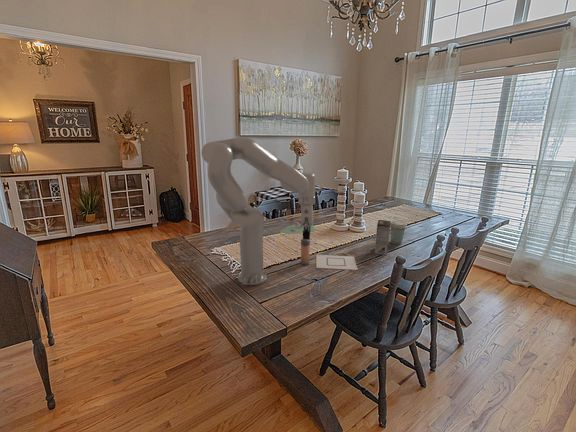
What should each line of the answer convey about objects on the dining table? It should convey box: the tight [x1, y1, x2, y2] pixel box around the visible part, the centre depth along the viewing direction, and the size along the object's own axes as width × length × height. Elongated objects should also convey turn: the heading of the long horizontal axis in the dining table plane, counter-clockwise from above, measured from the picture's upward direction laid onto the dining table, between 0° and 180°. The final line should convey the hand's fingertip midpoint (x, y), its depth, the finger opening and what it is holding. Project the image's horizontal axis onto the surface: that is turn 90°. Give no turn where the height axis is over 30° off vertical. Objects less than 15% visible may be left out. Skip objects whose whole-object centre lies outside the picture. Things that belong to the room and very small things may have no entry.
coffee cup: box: [390, 220, 406, 246], centre depth 173 cm, size 9×8×12 cm
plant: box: [279, 218, 317, 235], centre depth 196 cm, size 25×21×9 cm
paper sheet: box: [315, 254, 359, 271], centre depth 149 cm, size 15×19×1 cm
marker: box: [300, 238, 311, 266], centre depth 145 cm, size 4×4×12 cm
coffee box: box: [374, 219, 392, 256], centre depth 160 cm, size 9×6×16 cm
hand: (306, 235), depth 144 cm, fingers open, 9 cm apart
